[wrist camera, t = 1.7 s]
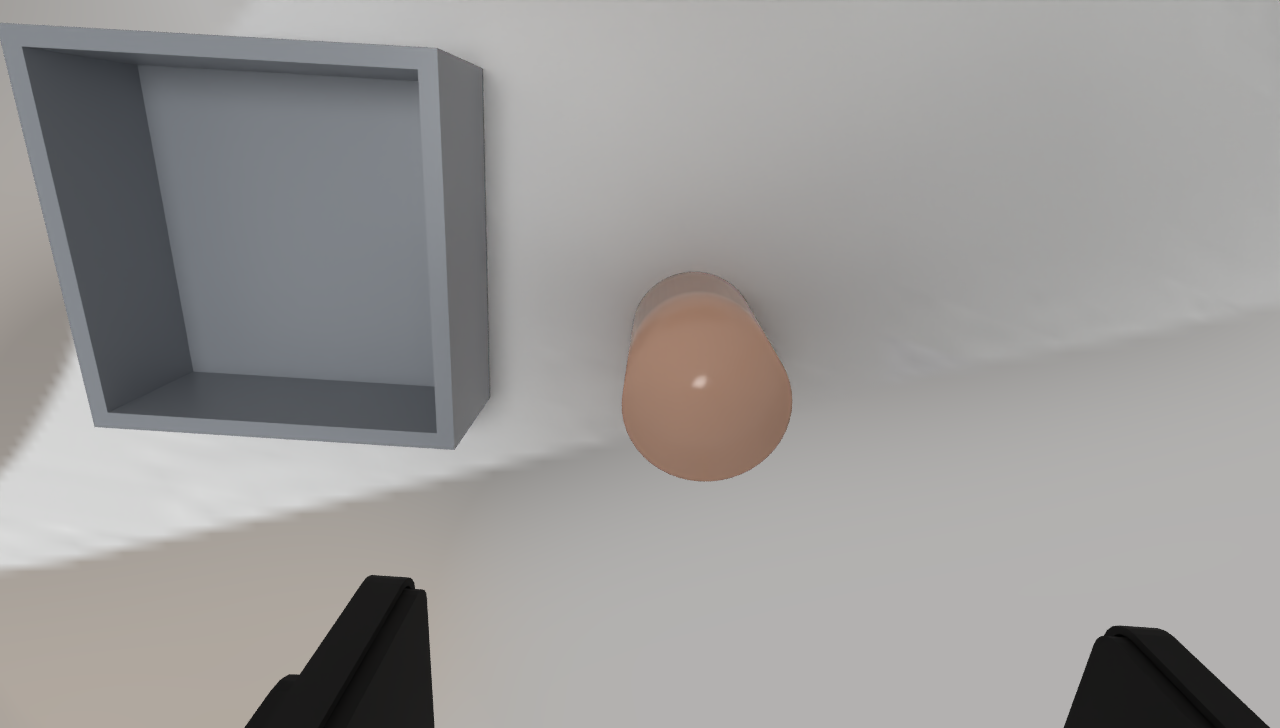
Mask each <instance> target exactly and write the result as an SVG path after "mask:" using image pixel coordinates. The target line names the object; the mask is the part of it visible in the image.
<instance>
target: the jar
mask: <svg viewBox="0 0 1280 728" xmlns="http://www.w3.org/2000/svg"><path fill="white" fill-rule="evenodd" d="M791 411H792V391H791V386H790V382H789V379H788V376H787V373H786V371H785V369H784V367H783V365H782V363H781V361H780V360H779V358H778V356H777V354H776V353H775V351H774V349H773V348H772V346H771V344H770V342H769V341H768V339H767V337H766V335H765V334H764V332H763V330H762V328H761V327H760V325H759V323H758V321H757V320H756V318H755V316H754V314H753V313H752V311H751V309H750V307H749V306H748V304H747V302H746V300H745V299H744V297H743V296H742V295H741V293H740V292H739V291H738V290H737V289H736V288H735V287H734V286H733V285H731V284H730V283H729V282H727V281H725V280H724V279H722V278H720V277H717V276H715V275H712V274H708V273H702V272H686V273H680V274H676V275H673V276H670V277H668V278H666V279H664V280H662V281H661V282H659V283H658V284H656V285H655V286H654V287H652V288H651V289H650V290H649V291H648V292H647V294H646V295H645V296H644V297H643V299H642V300H641V302H640V304H639V306H638V308H637V310H636V313H635V316H634V320H633V326H632V333H631V340H630V347H629V354H628V361H627V367H626V374H625V381H624V388H623V395H622V414H623V420H624V424H625V427H626V430H627V433H628V435H629V437H630V439H631V441H632V442H633V444H634V445H635V447H636V448H637V450H638V451H639V452H640V453H641V454H642V455H643V457H645V458H646V459H647V460H648V461H649V462H650V463H651V464H653V465H654V466H656V467H657V468H659V469H660V470H662V471H664V472H666V473H668V474H670V475H673V476H676V477H679V478H683V479H687V480H694V481H717V480H723V479H728V478H732V477H734V476H737V475H740V474H742V473H744V472H746V471H748V470H750V469H752V468H753V467H755V466H757V465H758V464H760V463H761V462H762V461H763V460H764V459H766V458H767V457H768V456H769V454H771V453H772V451H773V450H774V449H775V448H776V446H777V445H778V444H779V442H780V441H781V439H782V437H783V435H784V433H785V432H786V429H787V426H788V423H789V420H790V416H791Z"/></svg>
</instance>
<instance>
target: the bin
mask: <svg viewBox="0 0 1280 728" xmlns="http://www.w3.org/2000/svg"><path fill="white" fill-rule="evenodd" d="M0 41H1V45H2V48H3V53H4V57H5V61H6V65H7V69H8V73H9V77H10V82H11V86H12V90H13V94H14V98H15V102H16V106H17V110H18V114H19V119H20V123H21V127H22V131H23V135H24V139H25V143H26V147H27V151H28V155H29V159H30V164H31V168H32V172H33V176H34V180H35V184H36V188H37V192H38V196H39V201H40V204H41V209H42V213H43V217H44V221H45V225H46V229H47V233H48V237H49V242H50V245H51V250H52V254H53V258H54V262H55V266H56V270H57V274H58V278H59V283H60V286H61V290H62V295H63V299H64V303H65V307H66V311H67V315H68V319H69V323H70V328H71V332H72V336H73V340H74V344H75V348H76V352H77V356H78V360H79V364H80V369H81V373H82V377H83V381H84V385H85V389H86V393H87V397H88V401H89V405H90V410H91V414H92V418H93V422H94V426H95V427H104V428H119V429H135V430H151V431H167V432H182V433H198V434H214V435H230V436H245V437H261V438H277V439H293V440H308V441H324V442H340V443H356V444H372V445H387V446H403V447H419V448H435V449H450V450H455V448H456V447H457V445H458V444H459V442H460V441H461V439H462V438H463V436H464V435H465V433H466V432H467V431H468V429H469V428H470V426H471V425H472V423H473V422H474V420H475V419H476V417H477V416H478V414H479V413H480V411H481V410H482V408H483V407H484V405H485V404H486V403H487V401H488V400H489V398H490V385H489V341H488V296H487V252H486V208H485V164H484V119H483V75H482V68H480V67H478V66H476V65H474V64H471V63H469V62H467V61H465V60H462V59H460V58H458V57H456V56H454V55H451V54H449V53H447V52H445V51H443V50H440V49H438V48H428V47H410V46H393V45H376V44H358V43H341V42H324V41H307V40H289V39H272V38H255V37H237V36H220V35H202V34H185V33H167V32H151V31H133V30H116V29H98V28H81V27H64V26H46V25H28V24H10V23H0Z"/></svg>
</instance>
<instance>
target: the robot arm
mask: <svg viewBox="0 0 1280 728" xmlns="http://www.w3.org/2000/svg"><path fill="white" fill-rule="evenodd" d="M245 728H434V712H433V695H432V678H431V661H430V644H429V627H428V611H427V597H426V592H425V590H421V589H420V590H419V589H415V585H414V582H413V580H412V579H411V578H407V577H391V576H377V575H371V576H368V577H367V578H366V579H365V580H364V581H363V583H362V584H361V586H360V587H359V589H358V590H357V591H356V593H355V594H354V596H353V597H352V599H351V600H350V602H349V603H348V605H347V606H346V608H345V609H344V611H343V612H342V613H341V615H340V616H339V618H338V619H337V621H336V622H335V624H334V625H333V627H332V628H331V630H330V631H329V632H328V634H327V636H326V637H325V639H324V640H323V642H322V643H321V644H320V646H319V647H318V649H317V650H316V652H315V653H314V655H313V656H312V657H311V659H310V660H309V662H308V663H307V665H306V666H305V668H304V669H303V671H302V672H301V674H300V675H290V674H289V675H287V676H286V677H284V678H282V679H281V680H280V681H279V682H278V683H277V684H276V686H275V687H274V688H273V689H272V690H271V691H270V693H269V694H268V695H267V697H266V698H265V700H264V701H263V702H262V704H261V706H260V707H259V708H258V709H257V711H256V712H255V714H254V715H253V716H252V718H251V719H250V721H249V722H248V724H247V725H246V726H245ZM1064 728H1270V727H1269V726H1267V725H1266V724H1265V723H1264V722H1263V721H1262V720H1261V719H1260V718H1259V717H1258V716H1257V715H1256V714H1255V713H1254V712H1253V711H1252V710H1250V708H1248V707H1247V706H1246V705H1245V704H1244V703H1243V702H1242V701H1241V700H1240V699H1239V698H1238V697H1237V696H1236V695H1235V694H1234V693H1233V692H1232V691H1231V690H1229V689H1228V688H1227V687H1226V686H1225V685H1224V684H1223V683H1222V682H1221V681H1220V680H1219V679H1218V678H1217V677H1216V676H1215V675H1214V674H1213V673H1211V672H1210V671H1209V670H1208V669H1207V668H1206V667H1205V666H1204V665H1203V664H1202V663H1201V662H1200V661H1199V660H1198V659H1197V658H1195V656H1193V655H1192V654H1191V653H1190V652H1189V651H1188V650H1187V649H1186V648H1185V647H1184V646H1183V645H1182V644H1181V643H1180V642H1179V641H1178V640H1177V639H1175V638H1174V637H1173V636H1172V635H1171V634H1169V633H1168V632H1166V631H1164V630H1161V629H1158V628H1146V627H1132V626H1112V627H1111V628H1110V629H1108V630H1107V631H1106V633H1105V635H1104V636H1101V637H1099V638H1098V639H1097V640H1096V642H1095V643H1094V645H1093V648H1092V651H1091V654H1090V657H1089V659H1088V662H1087V665H1086V668H1085V671H1084V673H1083V676H1082V679H1081V682H1080V684H1079V687H1078V690H1077V692H1076V695H1075V698H1074V701H1073V703H1072V707H1071V709H1070V712H1069V715H1068V717H1067V720H1066V723H1065V726H1064Z"/></svg>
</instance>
